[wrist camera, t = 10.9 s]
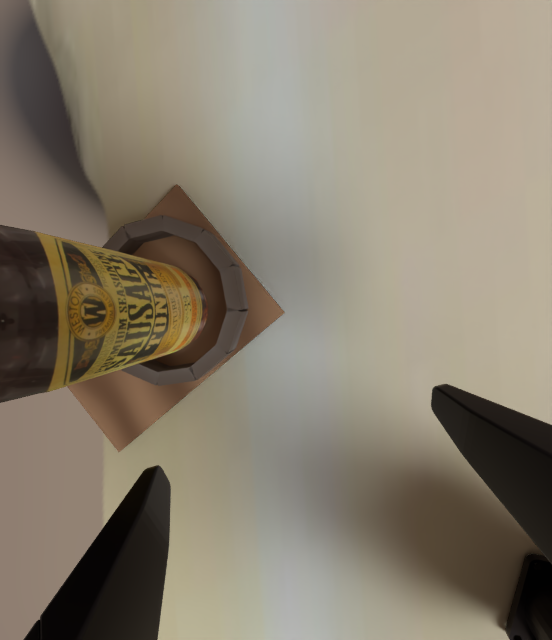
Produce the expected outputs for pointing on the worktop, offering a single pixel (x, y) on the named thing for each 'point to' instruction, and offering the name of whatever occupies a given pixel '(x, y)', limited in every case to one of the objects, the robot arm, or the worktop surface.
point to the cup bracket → (204, 352)
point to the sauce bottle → (86, 311)
